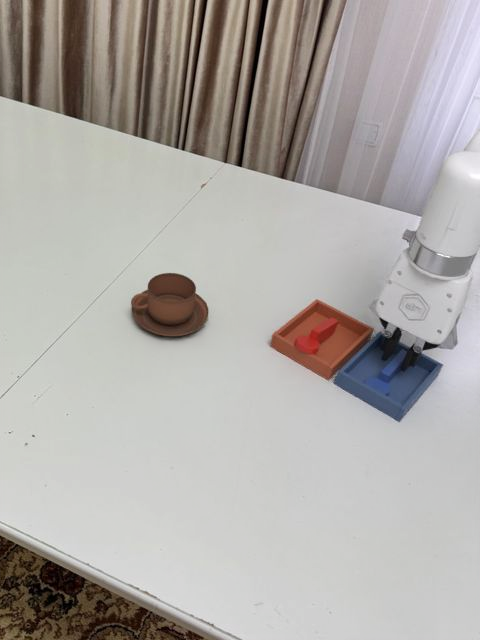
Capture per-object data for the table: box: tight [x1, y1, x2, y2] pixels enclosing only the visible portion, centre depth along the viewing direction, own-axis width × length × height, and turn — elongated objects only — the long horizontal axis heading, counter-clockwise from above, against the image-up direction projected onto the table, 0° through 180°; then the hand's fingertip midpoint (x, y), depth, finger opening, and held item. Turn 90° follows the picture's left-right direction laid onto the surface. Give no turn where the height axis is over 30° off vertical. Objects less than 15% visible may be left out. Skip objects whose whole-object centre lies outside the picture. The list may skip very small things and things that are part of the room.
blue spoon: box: [365, 349, 407, 396], centre depth 89 cm, size 10×4×2 cm, turn 139°
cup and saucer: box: [130, 272, 210, 337], centre depth 96 cm, size 12×12×6 cm
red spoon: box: [294, 317, 339, 354], centre depth 93 cm, size 10×4×2 cm, turn 140°
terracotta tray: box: [269, 298, 375, 381], centre depth 95 cm, size 10×13×2 cm
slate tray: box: [333, 331, 444, 422], centre depth 90 cm, size 10×13×2 cm
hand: (397, 360), depth 90 cm, fingers closed
